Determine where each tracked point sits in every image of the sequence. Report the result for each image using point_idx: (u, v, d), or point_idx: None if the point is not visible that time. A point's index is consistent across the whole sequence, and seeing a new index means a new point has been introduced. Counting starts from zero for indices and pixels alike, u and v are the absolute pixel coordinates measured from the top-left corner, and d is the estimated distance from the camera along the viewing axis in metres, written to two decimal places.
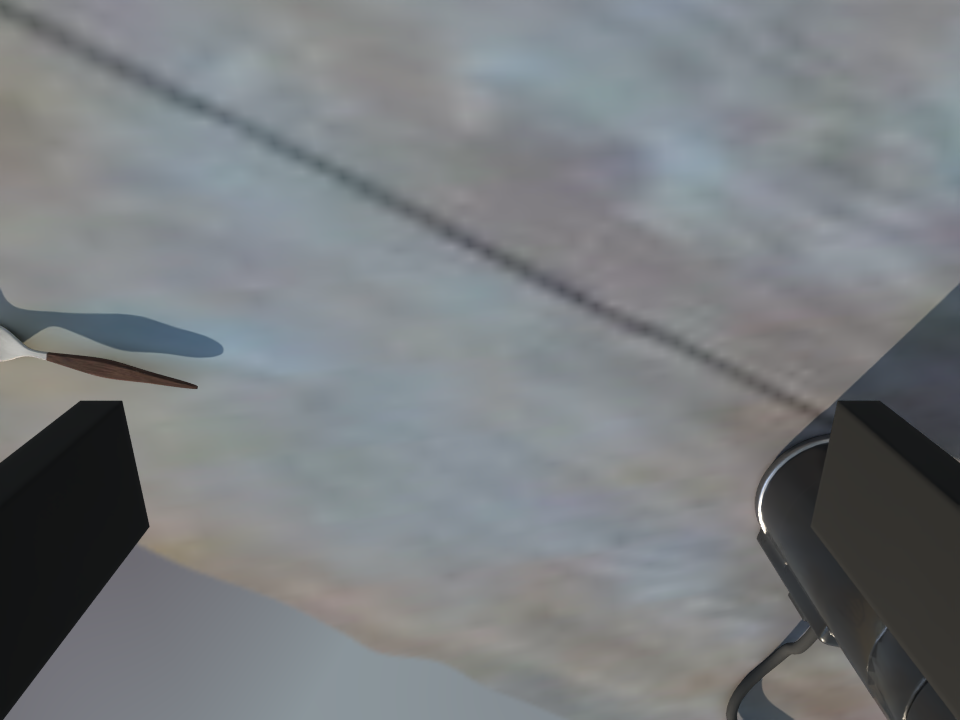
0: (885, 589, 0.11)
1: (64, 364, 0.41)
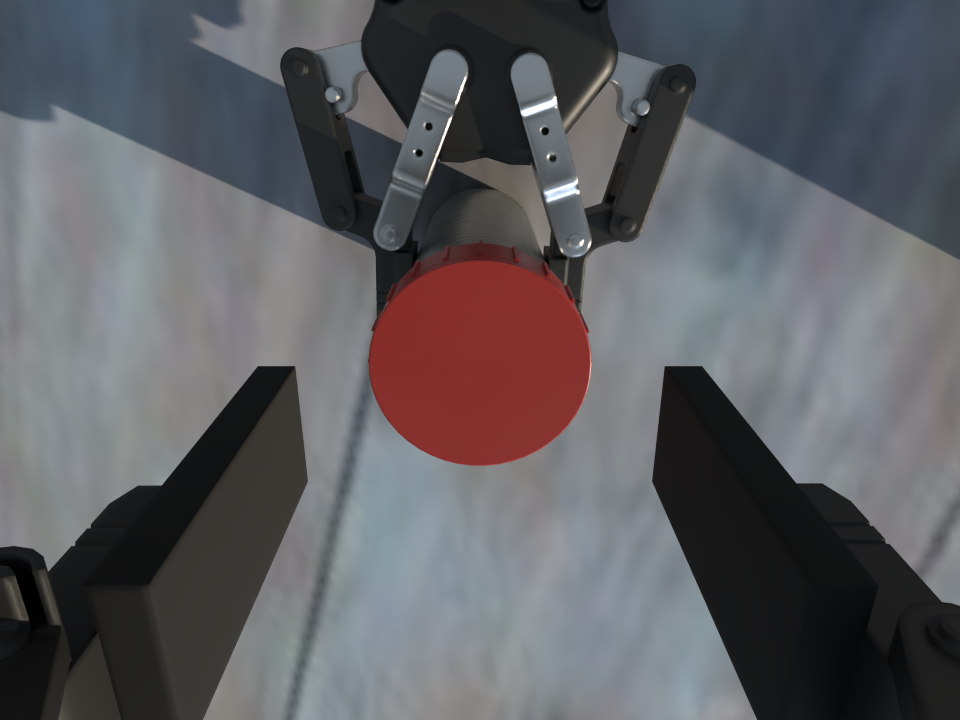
0: (686, 526, 0.12)
1: None
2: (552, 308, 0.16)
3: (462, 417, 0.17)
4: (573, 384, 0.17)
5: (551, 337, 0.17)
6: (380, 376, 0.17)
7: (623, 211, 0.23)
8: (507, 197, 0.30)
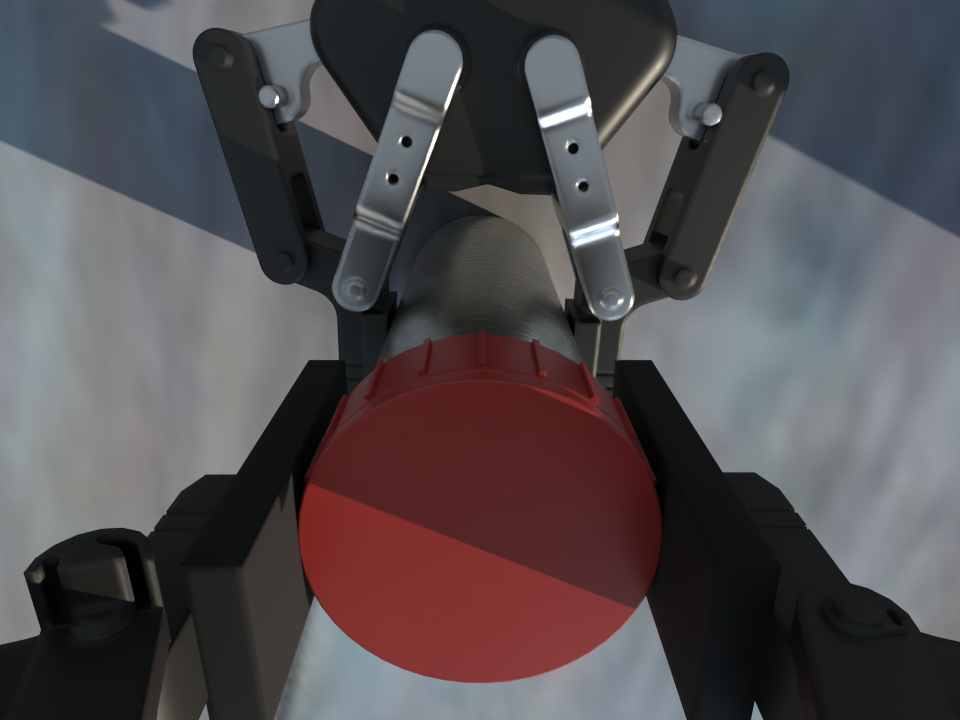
0: None
1: None
2: (601, 455, 0.10)
3: (451, 616, 0.11)
4: (632, 568, 0.11)
5: (598, 500, 0.10)
6: (317, 557, 0.10)
7: (679, 258, 0.17)
8: (515, 228, 0.23)
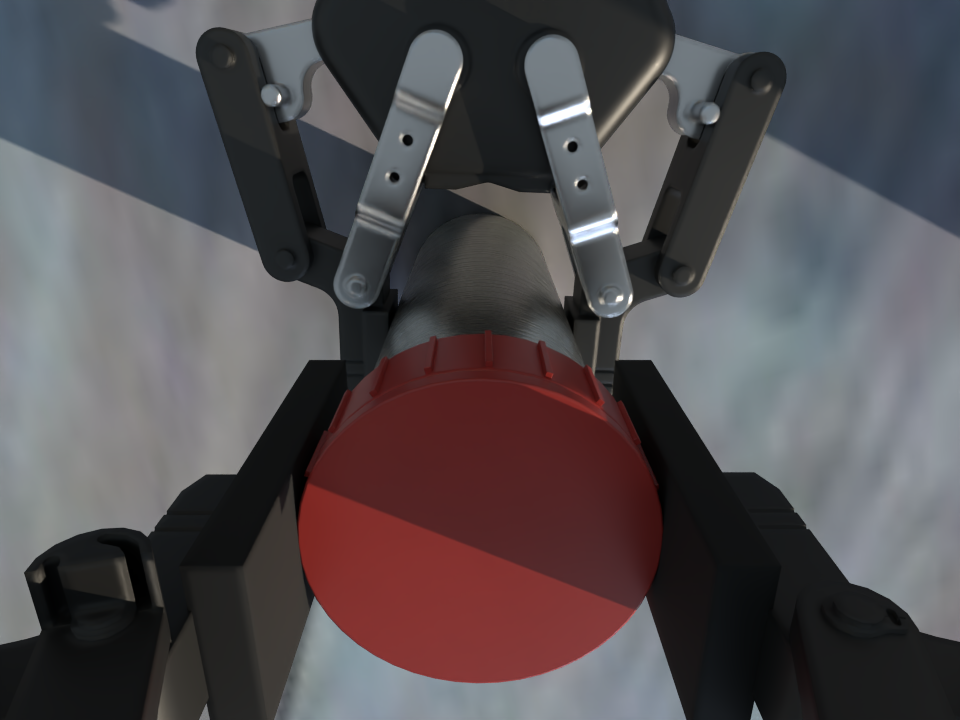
0: None
1: None
2: (326, 516, 0.10)
3: (571, 526, 0.10)
4: (410, 417, 0.10)
5: (365, 493, 0.10)
6: (575, 646, 0.11)
7: (677, 256, 0.17)
8: (515, 226, 0.23)
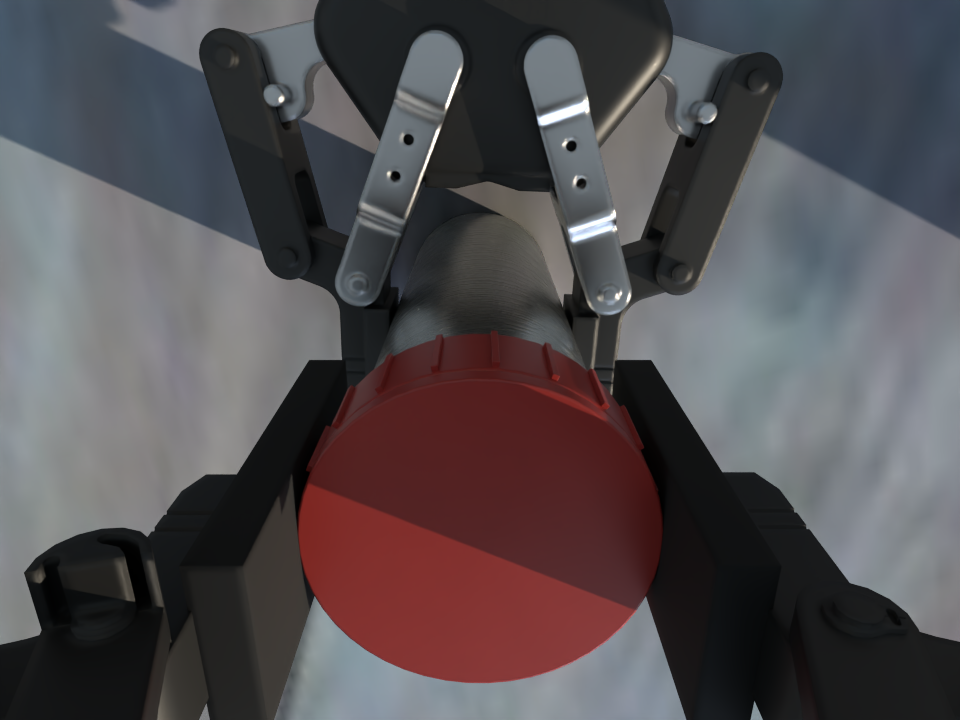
0: None
1: None
2: (530, 658, 0.11)
3: (407, 495, 0.10)
4: (402, 648, 0.11)
5: (488, 646, 0.11)
6: (534, 405, 0.09)
7: (675, 254, 0.17)
8: (514, 225, 0.23)
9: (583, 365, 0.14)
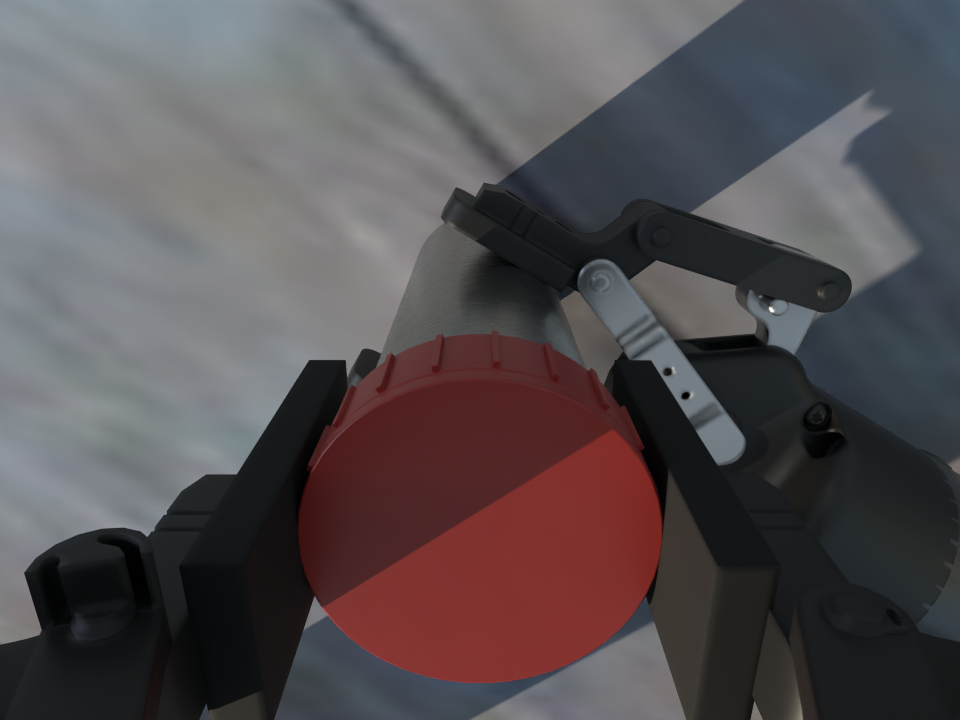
0: None
1: None
2: (529, 658, 0.11)
3: (407, 494, 0.10)
4: (401, 648, 0.11)
5: (488, 646, 0.11)
6: (535, 405, 0.09)
7: None
8: None
9: None
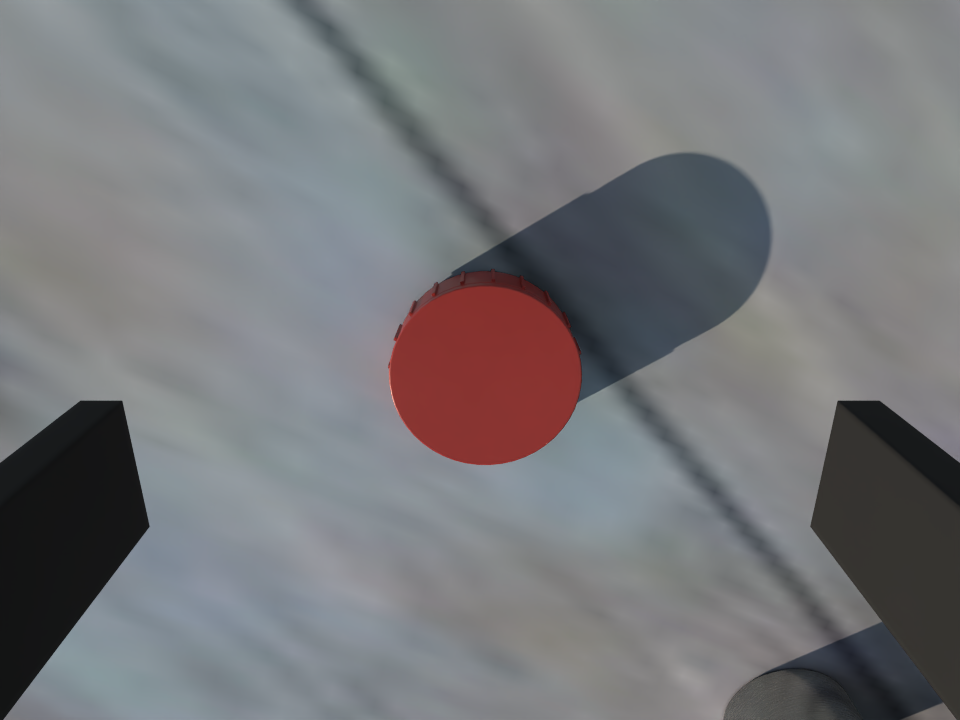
0: (885, 589, 0.11)
1: None
2: (512, 448, 0.20)
3: (447, 349, 0.19)
4: (442, 442, 0.20)
5: (489, 440, 0.20)
6: (512, 299, 0.19)
7: None
8: None
9: None
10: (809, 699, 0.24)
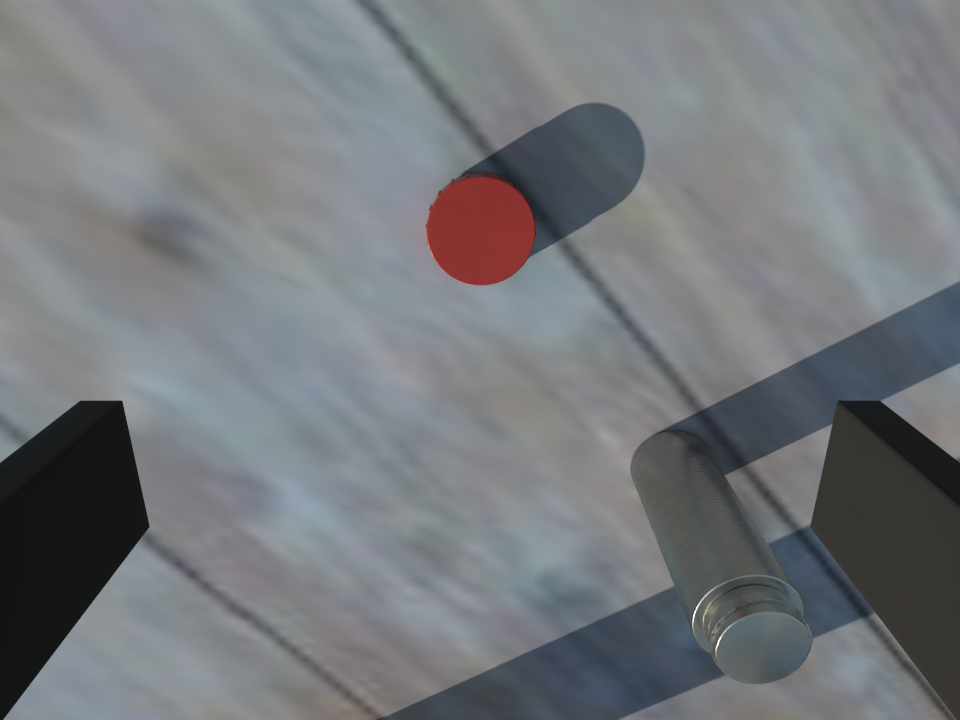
0: (885, 589, 0.11)
1: None
2: (496, 274, 0.36)
3: (459, 214, 0.34)
4: (456, 271, 0.36)
5: (483, 269, 0.36)
6: (496, 184, 0.34)
7: None
8: None
9: None
10: (678, 442, 0.40)
